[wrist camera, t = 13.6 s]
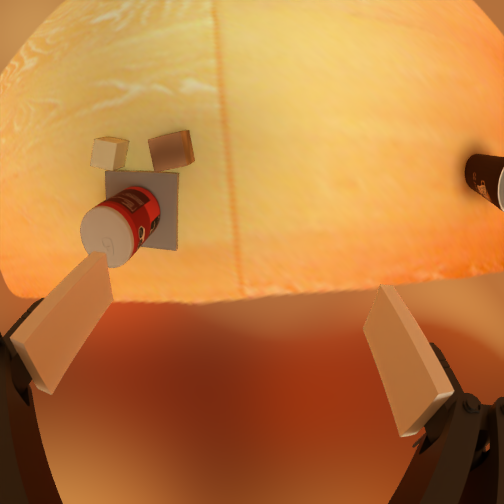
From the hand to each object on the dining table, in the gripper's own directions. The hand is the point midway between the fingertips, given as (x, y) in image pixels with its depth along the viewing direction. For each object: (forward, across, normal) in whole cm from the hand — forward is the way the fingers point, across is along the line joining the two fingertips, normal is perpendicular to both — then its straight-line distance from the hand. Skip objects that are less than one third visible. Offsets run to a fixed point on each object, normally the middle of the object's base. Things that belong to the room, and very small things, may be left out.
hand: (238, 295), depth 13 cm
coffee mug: (+29, +38, +7) cm, 48 cm away
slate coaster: (+29, -17, -6) cm, 34 cm away
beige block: (+29, -22, +2) cm, 36 cm away
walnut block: (+29, -12, +3) cm, 31 cm away
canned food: (+28, -17, -6) cm, 34 cm away
